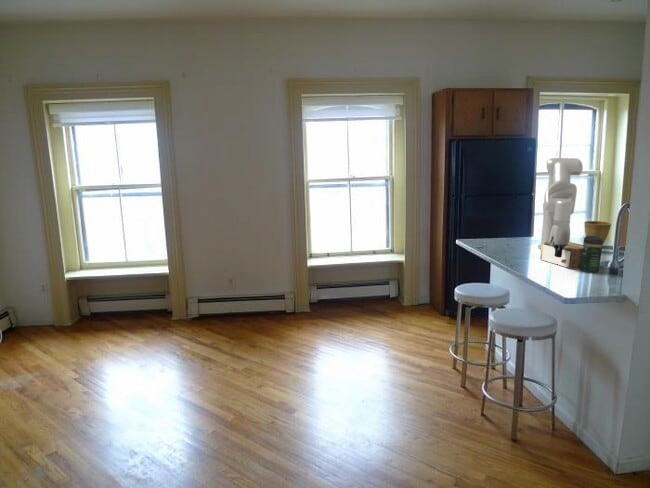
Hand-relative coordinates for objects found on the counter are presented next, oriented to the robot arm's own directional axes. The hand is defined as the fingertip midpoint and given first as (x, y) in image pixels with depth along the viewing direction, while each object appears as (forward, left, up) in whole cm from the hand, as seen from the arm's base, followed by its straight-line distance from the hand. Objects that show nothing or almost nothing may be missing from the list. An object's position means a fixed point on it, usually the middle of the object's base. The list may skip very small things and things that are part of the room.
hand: (557, 256), depth 237 cm
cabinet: (-12, -5, -6) cm, 14 cm away
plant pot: (-63, -31, -6) cm, 70 cm away
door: (-3, -6, -5) cm, 9 cm away
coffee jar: (-11, +11, -6) cm, 17 cm away
